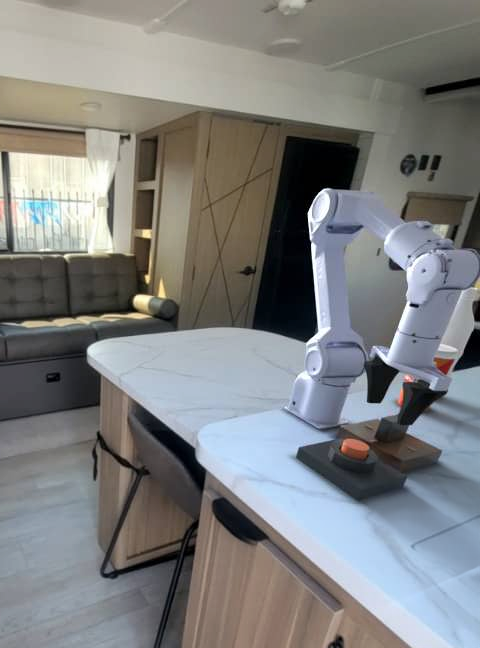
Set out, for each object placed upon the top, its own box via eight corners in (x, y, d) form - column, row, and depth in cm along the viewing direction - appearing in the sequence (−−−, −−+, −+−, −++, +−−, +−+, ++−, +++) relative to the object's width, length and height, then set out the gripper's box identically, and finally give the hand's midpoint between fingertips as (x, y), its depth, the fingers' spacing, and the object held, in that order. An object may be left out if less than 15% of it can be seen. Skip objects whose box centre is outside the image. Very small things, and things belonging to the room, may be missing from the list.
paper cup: (385, 397, 95) (407, 339, 89) (420, 400, 94) (445, 342, 88) (403, 412, 88) (428, 351, 82) (441, 415, 87) (470, 354, 81)
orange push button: (335, 449, 66) (338, 440, 66) (351, 446, 68) (354, 437, 67) (355, 461, 63) (358, 452, 63) (371, 457, 65) (375, 448, 64)
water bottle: (432, 402, 93) (481, 292, 82) (399, 390, 99) (441, 285, 88) (448, 396, 96) (497, 290, 85) (416, 385, 102) (458, 284, 91)
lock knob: (384, 442, 71) (393, 421, 69) (374, 436, 73) (382, 416, 71) (404, 438, 73) (412, 417, 71) (393, 432, 74) (401, 412, 73)
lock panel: (336, 437, 77) (340, 425, 76) (373, 429, 80) (377, 417, 79) (397, 473, 67) (403, 460, 66) (437, 462, 70) (443, 449, 69)
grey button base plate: (295, 457, 70) (301, 438, 69) (337, 448, 74) (344, 429, 72) (357, 501, 60) (365, 479, 59) (402, 487, 64) (412, 466, 62)
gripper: (487, 349, 55) (446, 435, 61) (410, 321, 68) (382, 394, 74) (437, 348, 55) (401, 434, 61) (369, 320, 68) (345, 394, 74)
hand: (388, 412), depth 67 cm, fingers open, 7 cm apart
